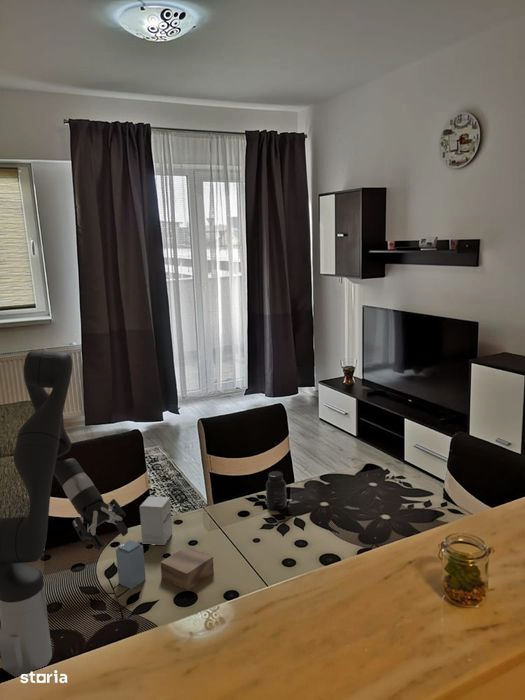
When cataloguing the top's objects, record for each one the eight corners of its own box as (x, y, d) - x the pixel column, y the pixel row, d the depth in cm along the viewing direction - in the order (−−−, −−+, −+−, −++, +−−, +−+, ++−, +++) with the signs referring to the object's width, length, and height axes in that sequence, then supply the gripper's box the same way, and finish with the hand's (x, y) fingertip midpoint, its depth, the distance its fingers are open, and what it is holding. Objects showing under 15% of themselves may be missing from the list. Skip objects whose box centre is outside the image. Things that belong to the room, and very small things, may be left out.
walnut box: (187, 591, 147) (186, 573, 146) (161, 578, 153) (160, 562, 152) (213, 573, 155) (212, 556, 154) (187, 562, 161) (186, 546, 160)
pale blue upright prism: (131, 589, 148) (128, 552, 146) (118, 583, 151) (115, 547, 149) (145, 579, 152) (142, 543, 151) (132, 574, 155) (129, 538, 153)
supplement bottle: (263, 505, 194) (262, 472, 192) (281, 500, 197) (279, 468, 195) (272, 513, 188) (270, 479, 186) (290, 508, 191) (289, 475, 189)
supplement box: (164, 546, 169) (161, 507, 167) (141, 545, 171) (138, 506, 169) (173, 534, 176) (170, 496, 174) (151, 533, 178) (148, 495, 176)
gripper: (66, 495, 150) (99, 546, 145) (107, 477, 161) (139, 523, 157) (55, 510, 154) (87, 560, 149) (97, 490, 165) (127, 536, 161)
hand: (114, 541), depth 153 cm, fingers open, 8 cm apart
